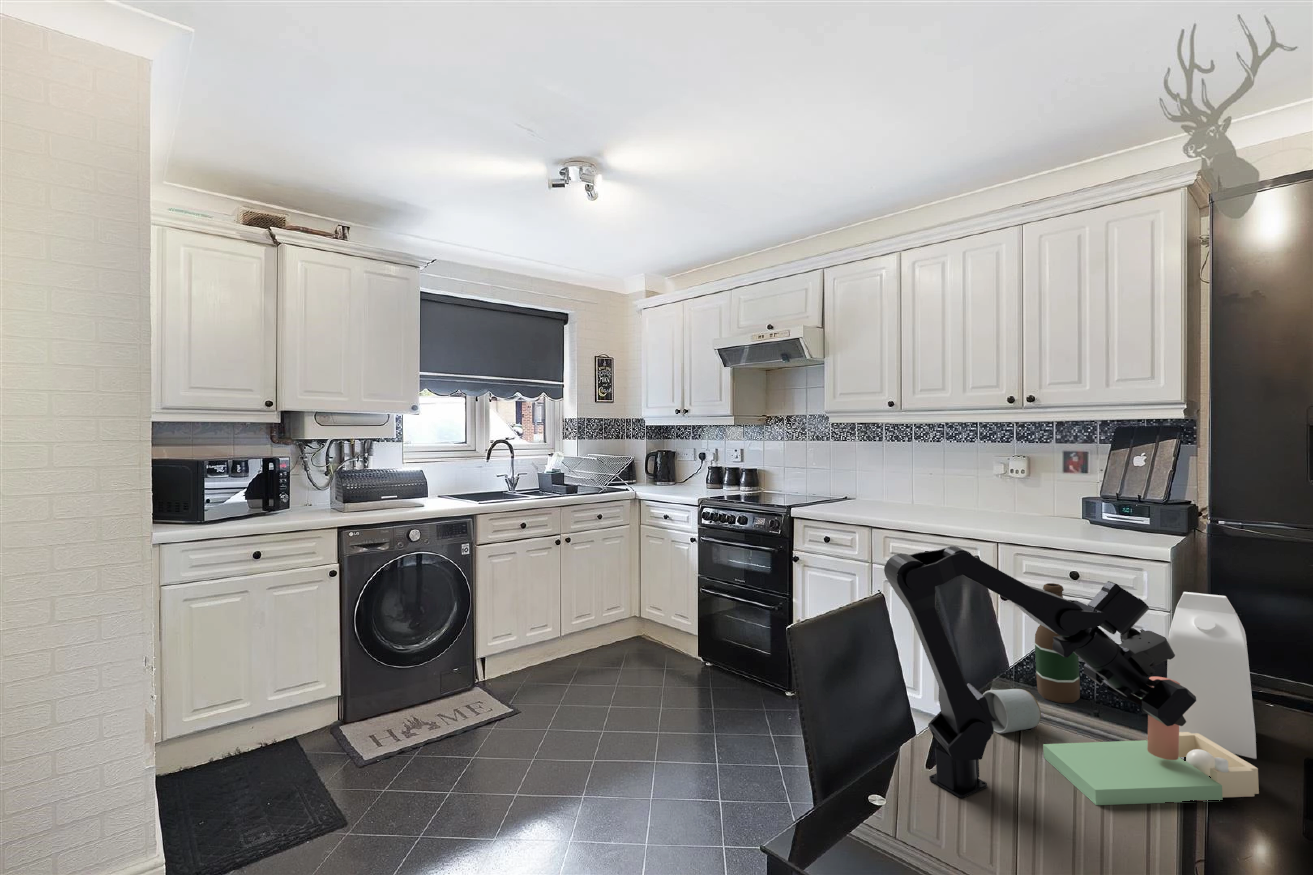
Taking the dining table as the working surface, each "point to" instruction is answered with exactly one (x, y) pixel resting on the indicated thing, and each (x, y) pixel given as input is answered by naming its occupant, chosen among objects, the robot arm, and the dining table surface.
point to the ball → (1201, 760)
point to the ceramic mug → (1013, 710)
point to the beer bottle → (1055, 664)
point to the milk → (1213, 671)
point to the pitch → (1129, 773)
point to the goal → (1223, 766)
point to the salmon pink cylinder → (1163, 736)
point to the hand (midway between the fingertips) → (1173, 717)
